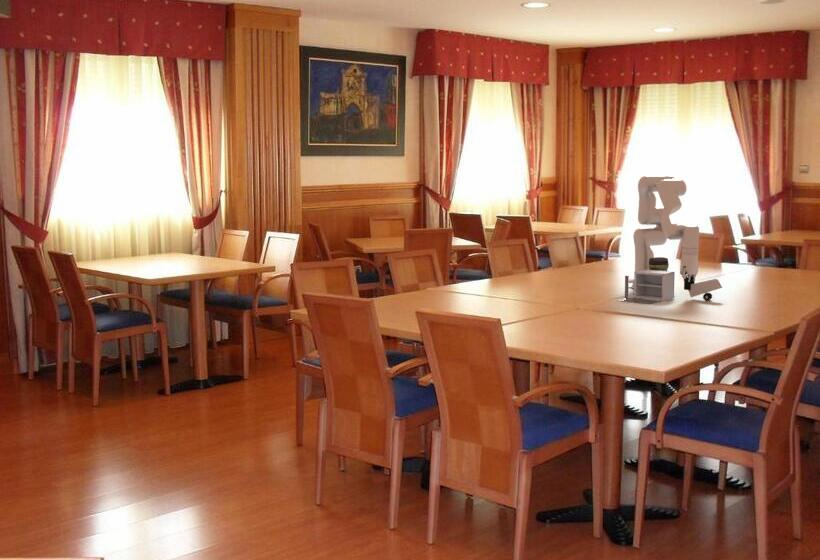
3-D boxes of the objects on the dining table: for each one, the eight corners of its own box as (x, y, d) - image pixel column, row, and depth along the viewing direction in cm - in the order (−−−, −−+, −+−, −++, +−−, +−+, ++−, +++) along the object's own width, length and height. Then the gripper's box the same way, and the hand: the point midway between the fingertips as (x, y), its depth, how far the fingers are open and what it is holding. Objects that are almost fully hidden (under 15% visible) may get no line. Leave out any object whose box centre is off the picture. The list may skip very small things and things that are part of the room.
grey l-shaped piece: (615, 300, 471) (615, 277, 470) (627, 298, 479) (627, 275, 478) (649, 304, 459) (649, 280, 457) (661, 301, 467) (661, 278, 465)
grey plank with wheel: (693, 305, 470) (723, 295, 462) (686, 285, 471) (716, 275, 463) (695, 304, 473) (725, 294, 466) (688, 284, 474) (718, 275, 467)
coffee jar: (663, 293, 495) (664, 256, 493) (670, 295, 487) (671, 257, 485) (645, 293, 494) (646, 256, 491) (652, 295, 486) (652, 258, 484)
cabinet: (634, 297, 479) (634, 271, 478) (644, 295, 487) (644, 269, 485) (663, 300, 469) (664, 273, 467) (674, 298, 476) (674, 271, 474)
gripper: (691, 249, 478) (690, 286, 481) (674, 252, 466) (673, 290, 469) (705, 250, 473) (704, 288, 476) (689, 253, 461) (688, 292, 464)
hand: (689, 289), depth 472 cm, fingers closed on grey plank with wheel, 3 cm apart
